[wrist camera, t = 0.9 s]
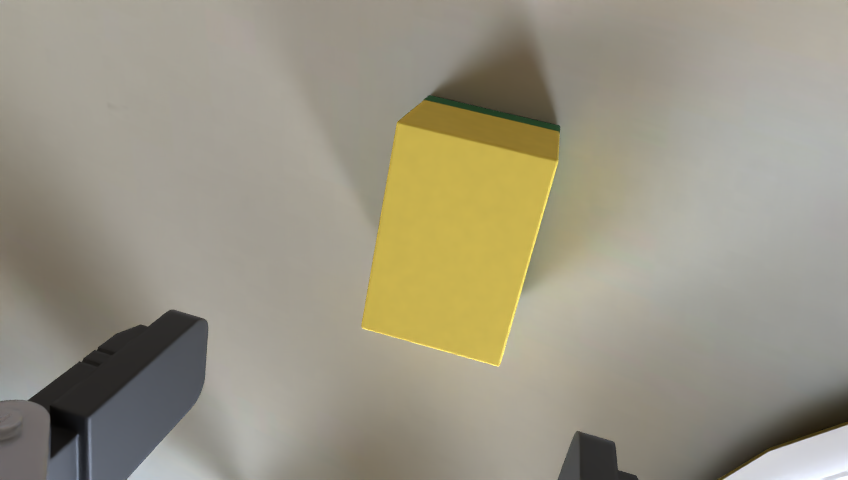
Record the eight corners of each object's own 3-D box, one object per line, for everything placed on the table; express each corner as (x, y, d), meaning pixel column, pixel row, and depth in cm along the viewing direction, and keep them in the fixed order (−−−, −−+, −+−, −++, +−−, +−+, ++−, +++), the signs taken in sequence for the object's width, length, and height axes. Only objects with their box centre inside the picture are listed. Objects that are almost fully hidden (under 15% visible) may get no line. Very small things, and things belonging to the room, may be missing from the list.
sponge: (428, 94, 24) (396, 120, 19) (560, 125, 23) (559, 159, 19) (395, 270, 27) (360, 328, 22) (511, 301, 26) (499, 368, 22)
